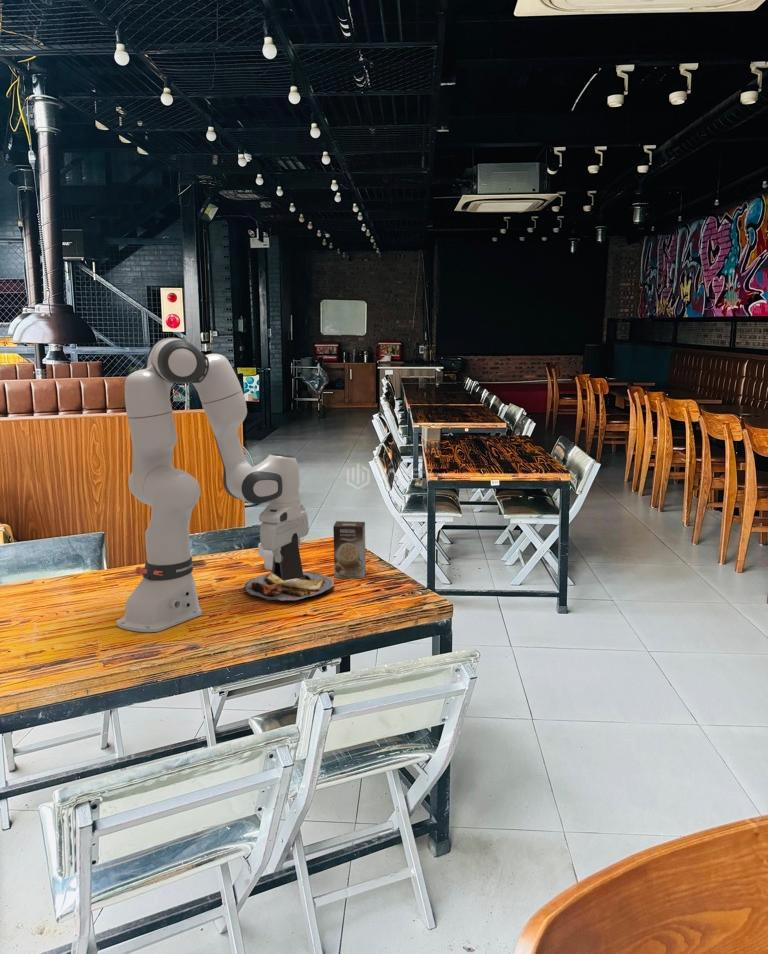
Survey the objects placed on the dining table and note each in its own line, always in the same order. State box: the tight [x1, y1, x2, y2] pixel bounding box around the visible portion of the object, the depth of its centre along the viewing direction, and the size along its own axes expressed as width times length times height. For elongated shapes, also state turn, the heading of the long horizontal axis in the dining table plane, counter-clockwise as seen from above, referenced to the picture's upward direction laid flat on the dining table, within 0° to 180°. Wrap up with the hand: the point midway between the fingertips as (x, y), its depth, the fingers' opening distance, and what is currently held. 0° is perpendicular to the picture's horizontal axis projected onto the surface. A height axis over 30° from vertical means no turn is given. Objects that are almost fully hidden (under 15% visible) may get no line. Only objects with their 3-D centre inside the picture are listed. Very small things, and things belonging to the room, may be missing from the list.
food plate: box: [243, 570, 335, 601], centre depth 217 cm, size 25×23×4 cm
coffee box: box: [332, 520, 367, 579], centre depth 228 cm, size 9×6×16 cm
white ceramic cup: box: [257, 542, 274, 571], centre depth 239 cm, size 7×9×9 cm
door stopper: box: [272, 533, 304, 581], centre depth 215 cm, size 9×6×12 cm, turn 29°
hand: (286, 558), depth 215 cm, fingers open, 7 cm apart
